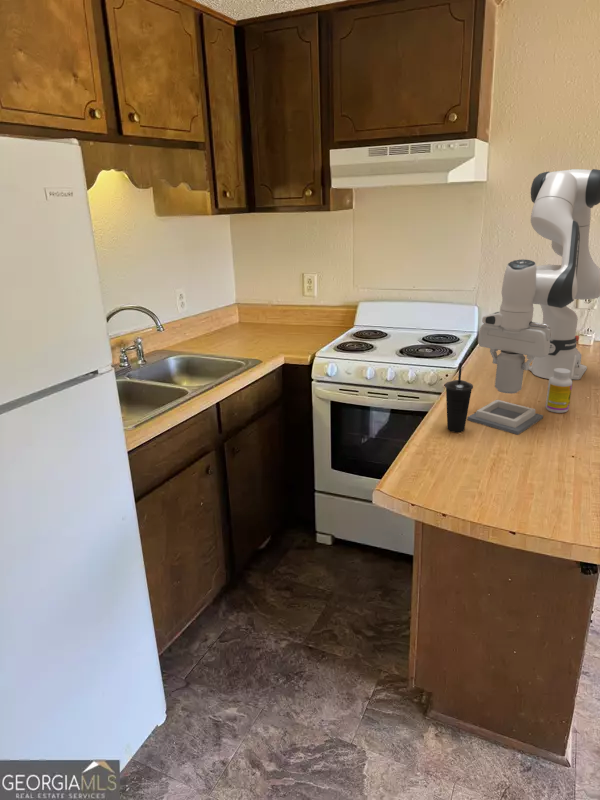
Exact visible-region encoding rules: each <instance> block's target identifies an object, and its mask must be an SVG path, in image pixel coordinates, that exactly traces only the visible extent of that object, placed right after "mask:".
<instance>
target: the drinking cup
mask: <svg viewBox="0 0 600 800" xmlns="http://www.w3.org/2000/svg"><path fill="white" fill-rule="evenodd" d="M462 367H463V364H462V362H460V363H459V364H458V377H457V379H453V380H450V381H447V382H446V383H444V387H445V393H446V395H445V397H446V427H447V431H449V432H452V433H462V432H464V431H465V428H466V423H467V417H468V412H469V407H470V401H471V395H472V390H473V389H474V385H473V384H472V383H471V382H468V381H467V380H463V379H462Z"/></svg>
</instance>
